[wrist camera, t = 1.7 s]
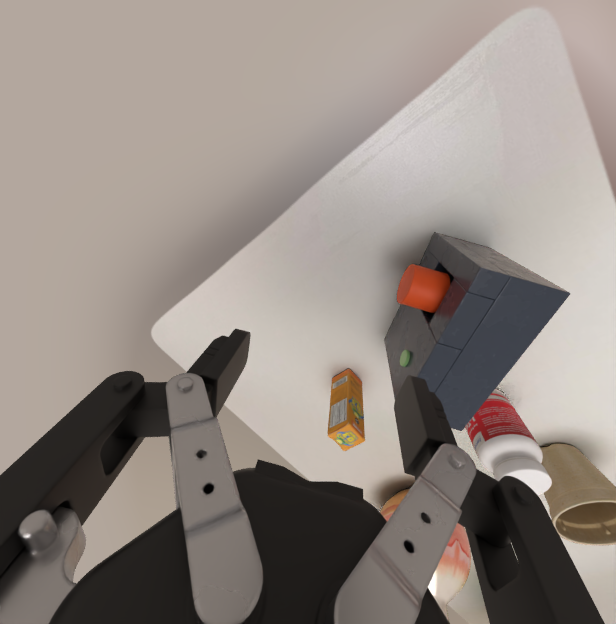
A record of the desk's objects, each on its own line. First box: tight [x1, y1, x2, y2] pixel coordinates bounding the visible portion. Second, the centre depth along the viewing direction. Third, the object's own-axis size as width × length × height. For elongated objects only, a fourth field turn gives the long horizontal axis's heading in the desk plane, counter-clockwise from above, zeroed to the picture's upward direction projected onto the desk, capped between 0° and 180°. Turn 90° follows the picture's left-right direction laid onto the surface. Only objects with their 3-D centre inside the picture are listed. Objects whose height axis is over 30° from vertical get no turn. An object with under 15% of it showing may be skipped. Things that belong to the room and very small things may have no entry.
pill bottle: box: [465, 389, 552, 495], centre depth 32 cm, size 6×6×11 cm
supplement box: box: [328, 369, 365, 451], centre depth 34 cm, size 3×3×10 cm
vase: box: [380, 489, 471, 621], centre depth 41 cm, size 14×14×18 cm
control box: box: [385, 232, 570, 431], centre depth 26 cm, size 14×6×12 cm, turn 166°
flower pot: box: [540, 444, 616, 545], centre depth 36 cm, size 9×9×9 cm
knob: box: [397, 264, 450, 313], centre depth 24 cm, size 4×3×4 cm
